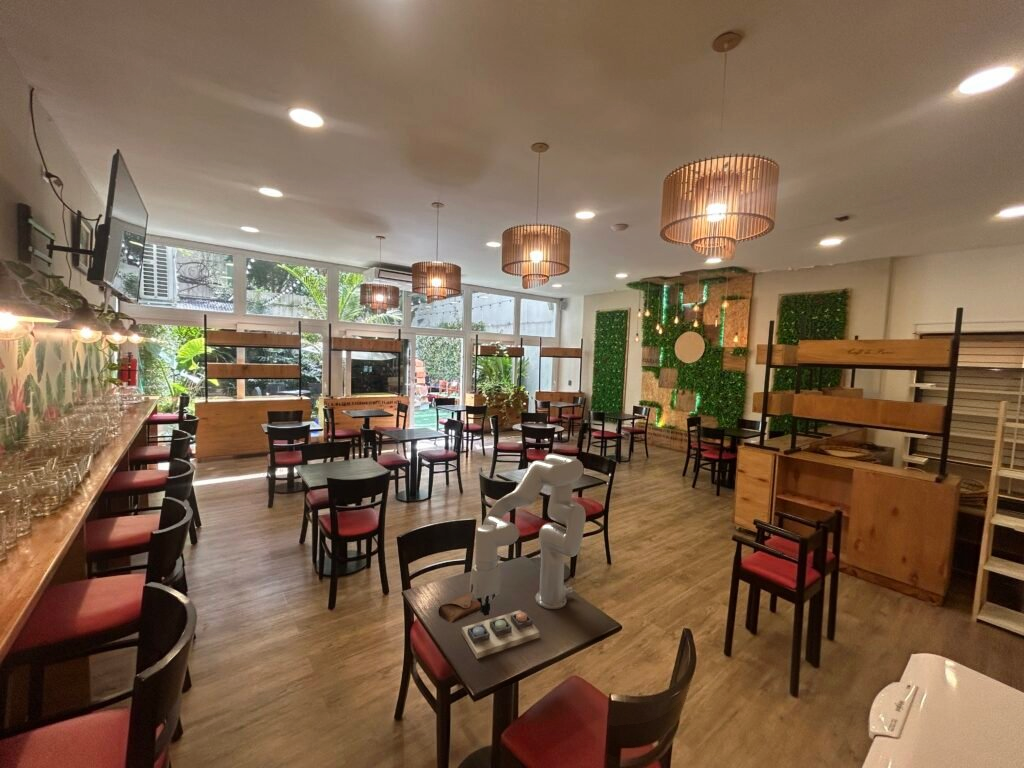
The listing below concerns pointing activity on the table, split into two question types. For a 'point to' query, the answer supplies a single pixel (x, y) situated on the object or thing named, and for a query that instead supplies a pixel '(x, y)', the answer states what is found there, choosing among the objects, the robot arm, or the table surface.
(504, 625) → the sage button
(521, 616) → the terracotta button
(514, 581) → the table surface
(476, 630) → the slate button
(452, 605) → the sunglasses case
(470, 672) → the table surface
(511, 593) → the table surface
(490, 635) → the button panel
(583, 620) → the table surface
